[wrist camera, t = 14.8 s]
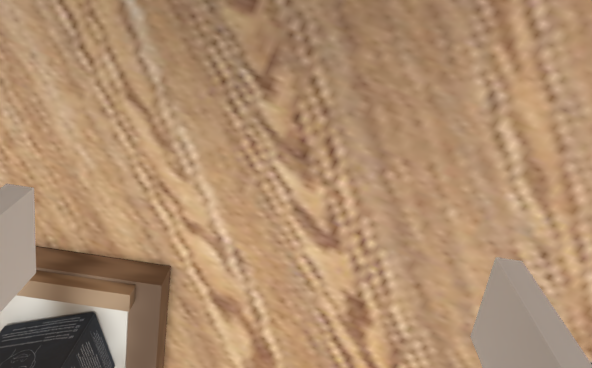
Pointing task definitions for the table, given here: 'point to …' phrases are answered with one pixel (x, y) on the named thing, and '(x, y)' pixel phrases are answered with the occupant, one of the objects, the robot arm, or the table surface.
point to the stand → (100, 301)
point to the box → (55, 344)
